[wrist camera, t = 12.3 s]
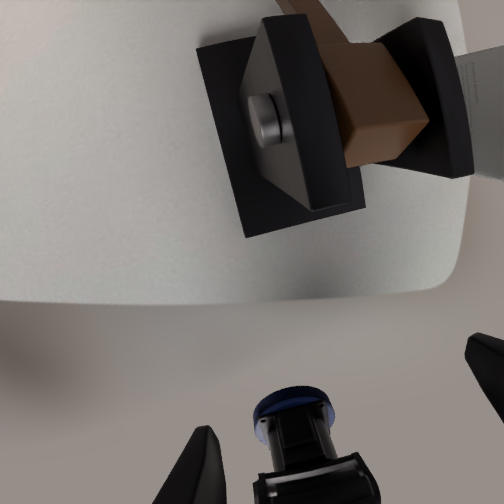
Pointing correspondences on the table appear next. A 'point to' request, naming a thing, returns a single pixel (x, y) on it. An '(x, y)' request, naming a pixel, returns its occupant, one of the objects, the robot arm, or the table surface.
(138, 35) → the table surface
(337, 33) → the lever
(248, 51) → the bracket
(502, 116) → the cosmetic box
